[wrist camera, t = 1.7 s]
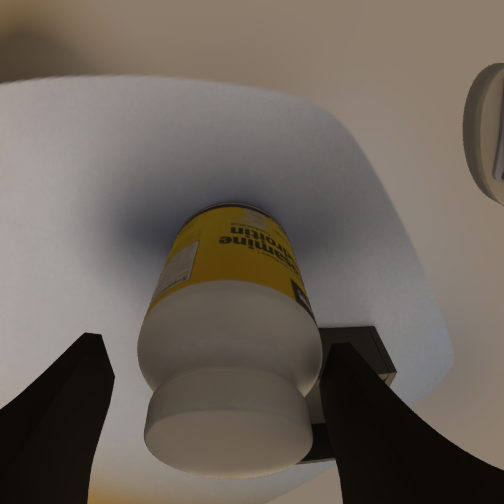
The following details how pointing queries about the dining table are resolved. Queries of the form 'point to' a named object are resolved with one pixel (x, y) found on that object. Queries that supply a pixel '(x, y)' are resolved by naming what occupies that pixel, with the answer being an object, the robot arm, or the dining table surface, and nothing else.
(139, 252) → the dining table surface
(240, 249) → the pill bottle
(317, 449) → the bin
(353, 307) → the dining table surface
